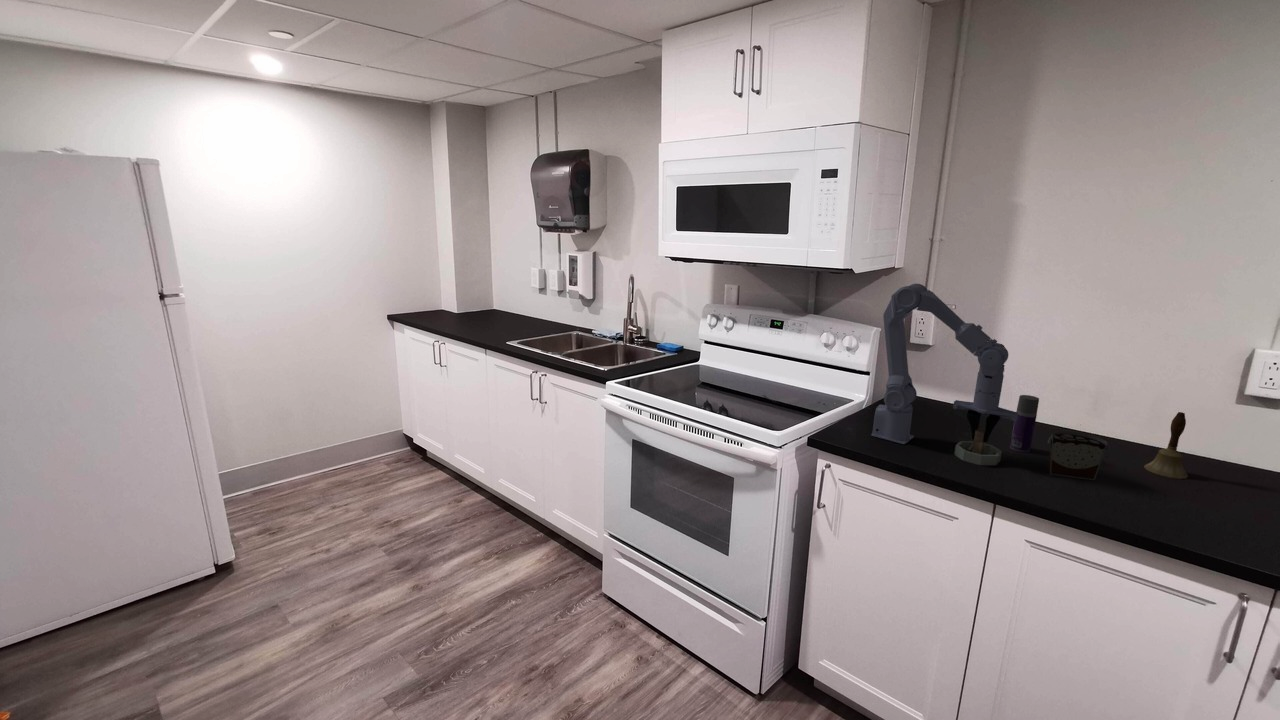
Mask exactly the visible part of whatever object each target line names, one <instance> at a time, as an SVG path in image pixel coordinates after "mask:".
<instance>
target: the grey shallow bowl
mask: <svg viewBox="0 0 1280 720" xmlns="http://www.w3.org/2000/svg"><path fill="white" fill-rule="evenodd" d="M973 443H974V440H967V441H966V440H962V441H961V440H960V441H958V443H957V444H955V447H954V456H956V457H957V458H959V459H960V460H962V461H964V462H967V463H971V464H974V465H977V466H978V465H979V466H997V465H998V464H999V463H1000V462H1001V459H1002V453H1003V452H1002V450H1000V449H999V448H997V447H996V446H994V445H993V444H988V443H986V444H985V450H984V451H983V452H982V453H981V455H980V454H976V453H972V449H973Z"/></svg>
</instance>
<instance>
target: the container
mask: <svg viewBox="0 0 1280 720" xmlns="http://www.w3.org/2000/svg"><path fill="white" fill-rule="evenodd" d="M1018 397H1019V398H1018V401H1017V406H1016V411H1015V412H1018V419H1017V420H1016V421H1013V422H1014V423H1013V429H1012V433H1011V440H1010V445H1009V448H1010V449H1011V450H1012V451H1016V452H1018V453H1029V452H1030V451H1031V447H1032V442H1033V437H1034V431H1035V426H1036V423H1037V422H1036V421H1037V416H1038V410H1039V402H1040V398H1039V397H1038V396H1034V395H1030V394H1021V395H1019V396H1018Z"/></svg>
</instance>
